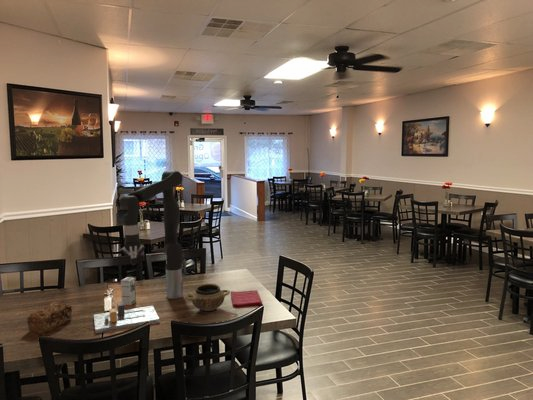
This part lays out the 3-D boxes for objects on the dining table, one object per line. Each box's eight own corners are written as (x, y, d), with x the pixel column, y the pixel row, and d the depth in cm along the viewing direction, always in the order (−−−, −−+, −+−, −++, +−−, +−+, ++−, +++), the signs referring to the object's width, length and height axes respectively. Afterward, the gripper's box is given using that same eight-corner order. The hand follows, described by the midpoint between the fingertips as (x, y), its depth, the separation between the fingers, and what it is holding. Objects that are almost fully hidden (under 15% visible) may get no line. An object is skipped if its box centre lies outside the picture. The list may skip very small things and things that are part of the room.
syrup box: (131, 305, 230) (130, 280, 229) (121, 304, 231) (120, 279, 230) (136, 301, 236) (135, 277, 234) (127, 301, 237) (125, 276, 235)
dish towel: (232, 308, 226) (232, 304, 226) (230, 294, 249) (229, 290, 249) (263, 307, 228) (263, 302, 228) (257, 292, 252) (257, 288, 251)
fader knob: (116, 317, 207) (115, 308, 206) (116, 321, 202) (116, 311, 202) (109, 318, 205) (109, 308, 205) (110, 322, 201) (110, 312, 200)
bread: (57, 317, 214) (56, 298, 213) (73, 319, 211) (72, 301, 210) (26, 332, 197) (25, 312, 195) (44, 334, 193) (43, 314, 192)
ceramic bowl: (186, 322, 213) (186, 298, 208) (183, 302, 229) (183, 279, 224) (232, 317, 220) (233, 293, 214) (226, 298, 235) (227, 276, 230)
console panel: (152, 309, 225) (152, 296, 224) (159, 322, 206) (158, 308, 206) (94, 318, 212) (93, 304, 211) (95, 333, 194) (94, 318, 193)
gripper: (143, 230, 223) (145, 261, 225) (117, 233, 217) (120, 264, 219) (145, 232, 216) (147, 264, 218) (119, 235, 211) (121, 268, 213)
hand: (133, 264), depth 219 cm, fingers closed
